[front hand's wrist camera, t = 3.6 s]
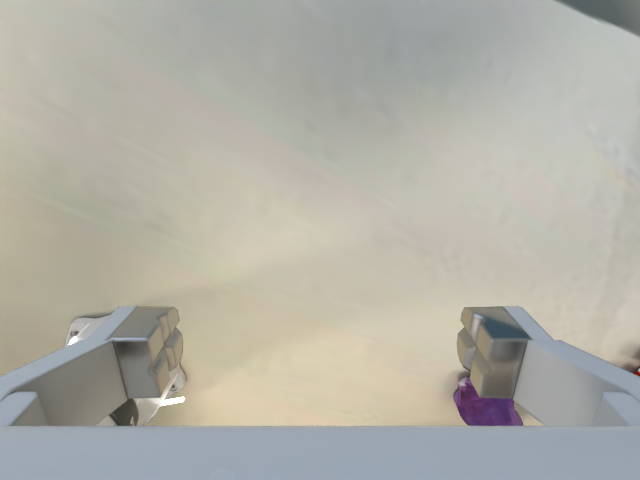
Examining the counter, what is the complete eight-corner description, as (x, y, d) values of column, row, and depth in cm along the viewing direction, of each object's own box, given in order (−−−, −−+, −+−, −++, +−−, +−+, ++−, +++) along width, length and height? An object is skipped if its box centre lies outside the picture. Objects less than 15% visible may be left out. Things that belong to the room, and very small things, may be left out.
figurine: (512, 412, 59) (571, 508, 45) (450, 416, 60) (490, 512, 46) (519, 366, 56) (585, 456, 42) (453, 371, 56) (497, 461, 42)
